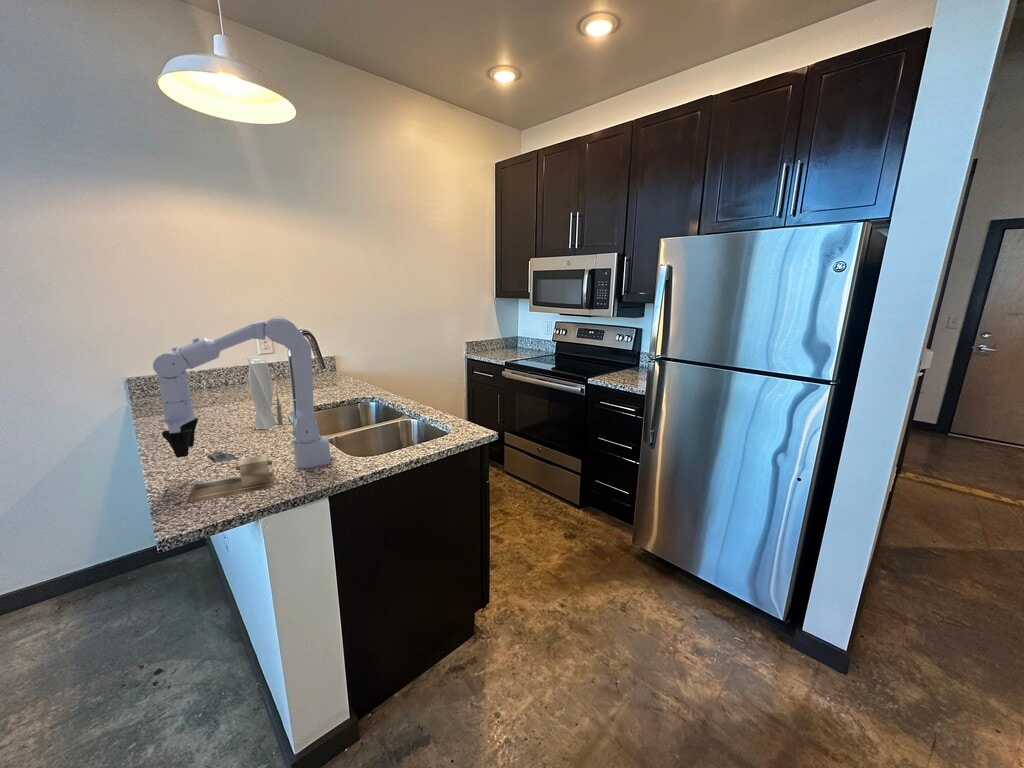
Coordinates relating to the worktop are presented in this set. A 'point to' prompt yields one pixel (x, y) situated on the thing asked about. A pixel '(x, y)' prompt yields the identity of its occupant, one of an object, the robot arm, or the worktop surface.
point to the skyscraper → (262, 394)
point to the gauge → (254, 470)
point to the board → (225, 488)
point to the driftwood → (222, 456)
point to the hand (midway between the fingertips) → (185, 451)
